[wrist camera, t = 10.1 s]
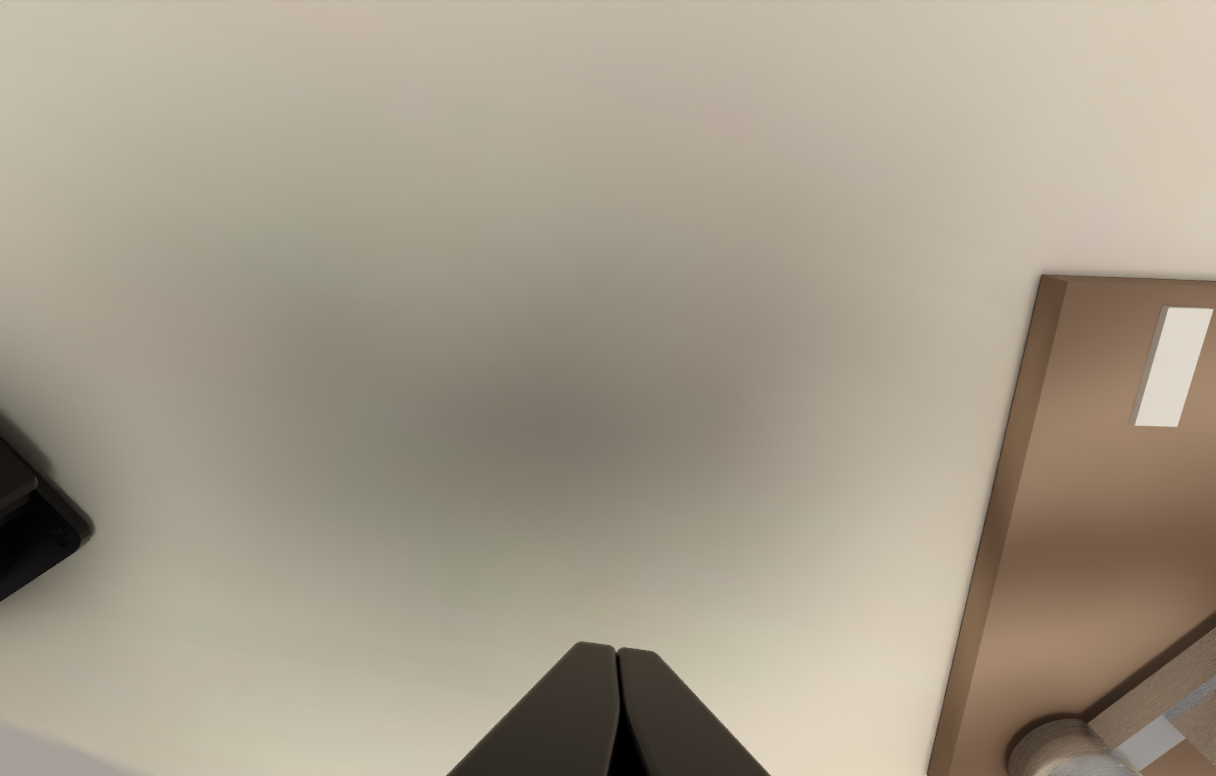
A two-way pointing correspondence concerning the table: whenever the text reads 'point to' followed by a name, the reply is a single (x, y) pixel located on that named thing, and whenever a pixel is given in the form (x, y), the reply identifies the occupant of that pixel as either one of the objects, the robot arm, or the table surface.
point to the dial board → (1092, 520)
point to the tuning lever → (1132, 724)
